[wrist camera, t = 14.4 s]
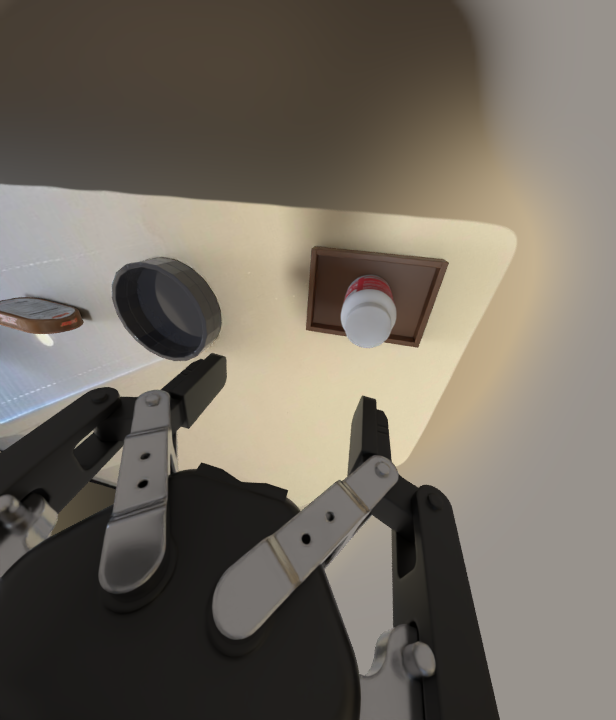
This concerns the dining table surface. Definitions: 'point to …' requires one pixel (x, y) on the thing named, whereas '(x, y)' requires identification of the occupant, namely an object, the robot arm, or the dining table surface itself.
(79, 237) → the dining table surface
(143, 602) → the robot arm
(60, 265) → the dining table surface
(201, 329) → the bowl
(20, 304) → the tin
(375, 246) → the dining table surface
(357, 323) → the pill bottle
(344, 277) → the tray
